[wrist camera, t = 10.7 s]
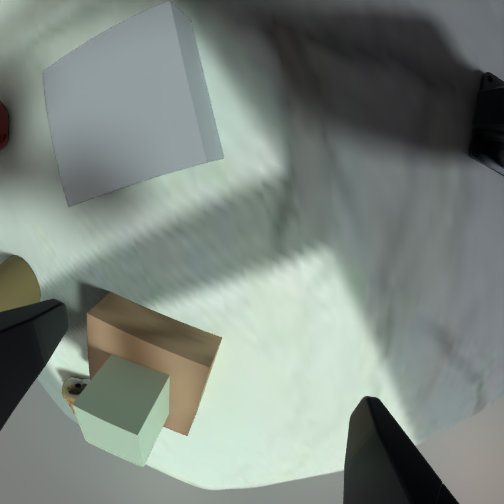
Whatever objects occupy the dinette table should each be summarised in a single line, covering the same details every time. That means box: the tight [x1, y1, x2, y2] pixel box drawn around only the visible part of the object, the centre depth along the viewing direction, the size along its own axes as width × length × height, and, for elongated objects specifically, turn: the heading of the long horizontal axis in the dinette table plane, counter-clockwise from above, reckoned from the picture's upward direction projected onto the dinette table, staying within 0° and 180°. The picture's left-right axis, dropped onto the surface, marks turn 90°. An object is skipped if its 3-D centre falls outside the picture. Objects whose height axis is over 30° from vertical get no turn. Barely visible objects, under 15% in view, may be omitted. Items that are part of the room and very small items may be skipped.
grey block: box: [43, 0, 224, 207], centre depth 16 cm, size 10×10×4 cm
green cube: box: [72, 354, 170, 467], centre depth 19 cm, size 5×5×6 cm
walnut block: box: [87, 292, 222, 436], centre depth 24 cm, size 10×10×4 cm
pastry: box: [62, 377, 90, 415], centre depth 29 cm, size 9×7×4 cm
